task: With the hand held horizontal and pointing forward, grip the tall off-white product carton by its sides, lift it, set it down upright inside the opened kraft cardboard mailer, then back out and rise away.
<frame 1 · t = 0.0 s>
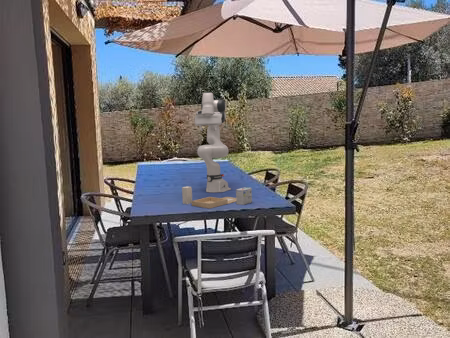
hand: (208, 130, 333), 52 cm above the table, tool tilted 20°, fingers open, 8 cm apart
light bulb box: (244, 203, 324), on the table
mailer: (209, 204, 322), on the table
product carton: (187, 203, 331), on the table
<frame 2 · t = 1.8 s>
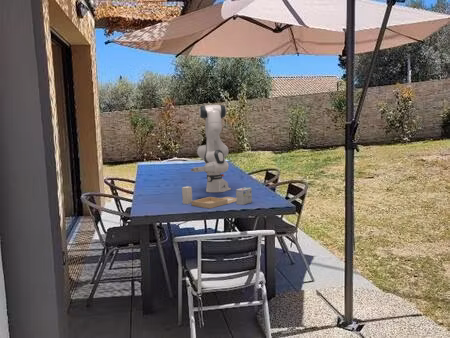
hand: (194, 169, 336), 23 cm above the table, tool horizontal, fingers open, 8 cm apart
nothing on the table moved.
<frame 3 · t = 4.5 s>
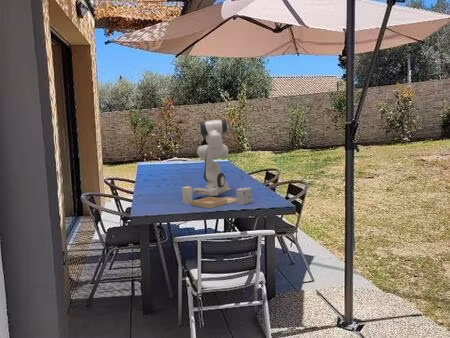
hand: (196, 193, 337), 6 cm above the table, tool horizontal, fingers open, 8 cm apart
nothing on the table moved.
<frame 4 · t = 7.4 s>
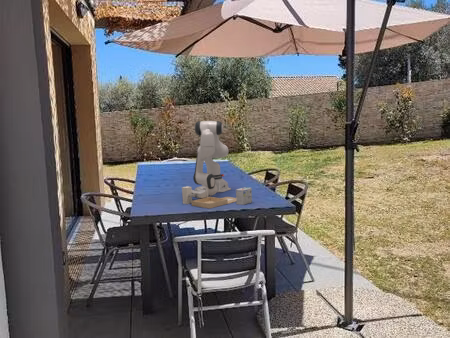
hand: (186, 195, 329), 6 cm above the table, tool horizontal, fingers closed on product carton, 5 cm apart
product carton: (187, 203, 331), on the table, touching gripper
everything else where it was.
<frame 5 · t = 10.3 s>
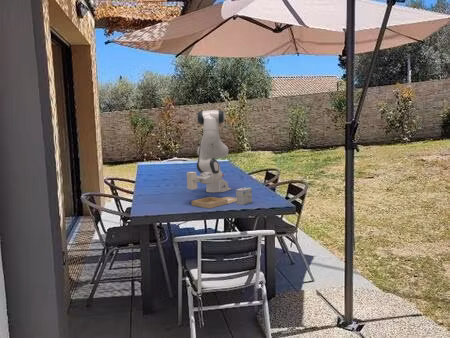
hand: (191, 180, 325), 17 cm above the table, tool horizontal, fingers closed on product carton, 5 cm apart
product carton: (192, 188, 327), point 11 cm above the table, touching gripper
everything else where it was.
when the fingers open (8 cm above the table, at t = 13.4 s): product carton drops 1 cm, resting on mailer.
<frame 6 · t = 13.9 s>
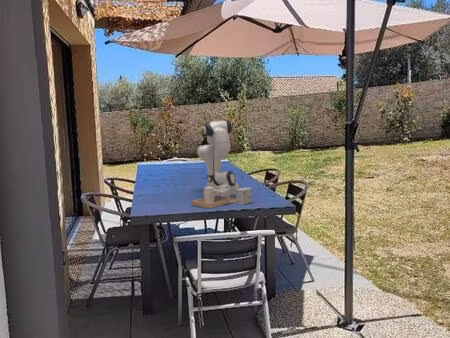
hand: (208, 193, 320), 8 cm above the table, tool horizontal, fingers open, 8 cm apart
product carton: (209, 204, 322), point 1 cm above the table, touching mailer
everything else where it was.
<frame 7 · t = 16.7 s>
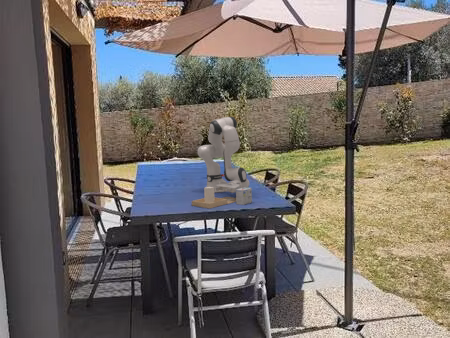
hand: (220, 189, 330), 9 cm above the table, tool horizontal, fingers open, 8 cm apart
nothing on the table moved.
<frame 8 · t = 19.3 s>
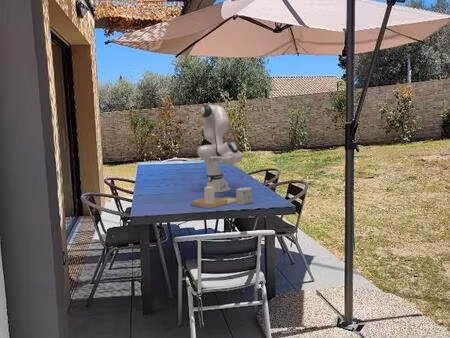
hand: (213, 160, 334), 30 cm above the table, tool horizontal, fingers open, 8 cm apart
nothing on the table moved.
at the end: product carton inside the target area on the mailer (0.0 cm from its centre), point 0.6 cm above the mailer's base; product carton tilted 0°; the gripper is holding nothing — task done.
